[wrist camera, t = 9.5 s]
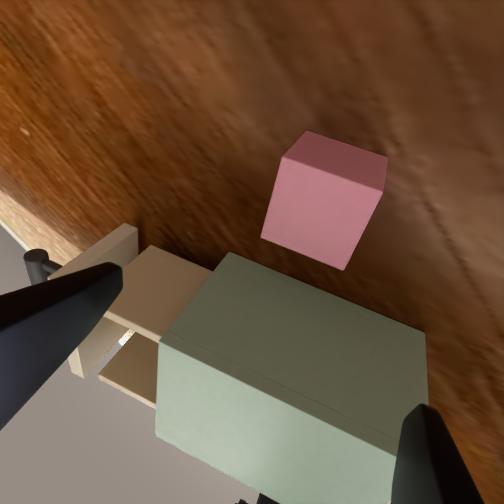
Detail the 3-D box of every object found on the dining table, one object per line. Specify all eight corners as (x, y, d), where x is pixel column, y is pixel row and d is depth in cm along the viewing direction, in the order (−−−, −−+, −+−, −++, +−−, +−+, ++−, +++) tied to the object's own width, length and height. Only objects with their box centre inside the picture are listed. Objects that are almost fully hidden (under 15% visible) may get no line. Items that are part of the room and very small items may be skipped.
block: (355, 227, 19) (343, 271, 16) (284, 201, 20) (259, 237, 17) (389, 157, 17) (383, 191, 13) (306, 129, 17) (281, 156, 14)
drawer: (85, 291, 32) (21, 345, 27) (70, 199, 26) (-18, 246, 21) (254, 372, 29) (219, 451, 24) (285, 290, 23) (247, 373, 17)
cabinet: (209, 345, 31) (154, 435, 24) (229, 251, 24) (158, 341, 17) (355, 415, 29) (339, 536, 22) (425, 332, 22) (433, 474, 15)
